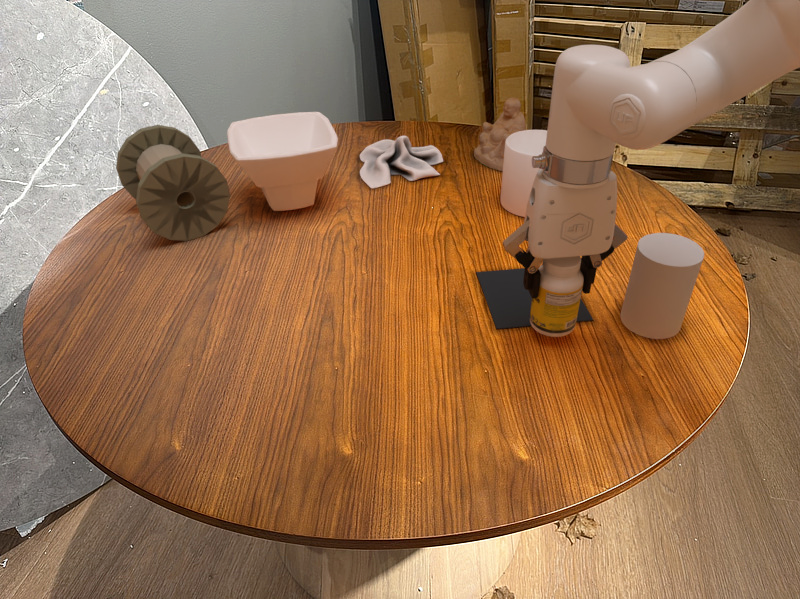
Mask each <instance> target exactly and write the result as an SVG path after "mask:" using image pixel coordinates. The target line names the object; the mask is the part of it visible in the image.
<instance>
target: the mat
mask: <svg viewBox="0 0 800 599" xmlns="http://www.w3.org/2000/svg"><path fill="white" fill-rule="evenodd" d="M524 272H525V267H522V268H521V267H520V268H509V269H498V270H488V271H487V270H486V271H476V272H475V274H476V276H477V279H478V282H479V285H480V287H481V288H480V289H481V290H482V293H483V296H484V299H485V301H486V304H487V307H488V309H489V313H490V315H491V318H492V321H493V323H494V326H495V330H508V329H517V328H519V329H520V328H527V327H528V328H529V327H532V326H531V323H530V312H531V305H532V297H531V295H530V293H529V291H528V290H525V288H524V284H523V280H524ZM593 321H594V318H593V317H592V315H591V313H590V311H589V310H588V308H587V306H586V304H585V303H584V301H583V299H582V298H581V299H580V304H579V310H578V315H577V321H576V323H583V322H593Z"/></svg>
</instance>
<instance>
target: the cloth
mask: <svg viewBox="0 0 800 599" xmlns="http://www.w3.org/2000/svg"><path fill="white" fill-rule="evenodd" d="M443 158H444V157H443V154H442V153H441V151H440V150H439V149H438V148H437V147H436V146H435V145H432V144H429V145H425V146H413V145H412V143H411V140H410V138H409V136H408V135H400V136H398V137H397V138H396V139H395V140H393V139H388V138H386V139H385V138H384V139H381V140H378V141H376V142H374V143H371V144H369V145H367V146H366V147H364V148H363V150H362V151H361V152H360V153H359V159H360V161H361V162H362V163H363V165H362V167H361V168H360V169H359V176H360V178H361V180H362V181H363V182H364V183H365V184H366V186H368V188H370V190H374V189H378V188H382V187H385V186H388V185H390V184H391V183H392V181H391V177H392V176H402V177H403V178H404V179H406V180H407V181H409V182H413V181H417V180H419V179H423V178H431V177H438V176H440V175H441V173H439V171H437V170H436V169H435V167H433V166H435V165H439V164H441V163H443V162H444V159H443Z"/></svg>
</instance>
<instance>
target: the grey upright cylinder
mask: <svg viewBox="0 0 800 599" xmlns="http://www.w3.org/2000/svg"><path fill="white" fill-rule="evenodd" d="M636 245H637V246H636V249H635V254H634V257H633V261H632V266H631V269H630V273H629V278H628V282H627V286H626V290H625V293H624V298H623V303H622V307H621V311H620V321H621V323H622V325H623V326H624V327H625V328H626V329H628V330H629V331H630V332H631V333H634V334H635V335H638V336H641V337H643V338H646V339H651V340H665V339H670V338H673V337H675V336H677V335H678V333H679V332H680V331H681V328H682V325H683V322H684V319H685V316H686V313H687V310H688V307H689V304H690V300H691V298H692V294H693V292H694V289H695V286H696V282H697V280H698V277H699V274H700V270H701V268H702V265H703V262H704V259H705V251H704V249H703V248H702V246H701V245H699V243H697V242H695V241H694V240H693V239H690V238H688V237H686V236H683V235H680V234H676V233H672V232H671V233H669V232H654V233H649V234H646V235H644V236H642V237H641V238H639V240H638V242H637V244H636Z"/></svg>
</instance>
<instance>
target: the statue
mask: <svg viewBox="0 0 800 599" xmlns="http://www.w3.org/2000/svg"><path fill="white" fill-rule="evenodd" d="M521 107H522V103H521V101H520V100H519V99H518V98H516V97H509V98H507V99H506V100H505V101H504V103H503V108H502V110H503V111H502V113H500V115H499V117H498V118H497V119H496V121H495V122H494V123H493V124H492V123H491V122H487V121H484V122H483V123H482V131H481V133H479V138H478V139H479V144H478V146H476V147H475V148H474V150H473V157H474V159H475V160H477V162H479V163H480V164H482V165H483V166H485V167H487V168H490V169H493V170H495V171H499V172H503V162H504V150H505V141H506V139H507V138H508V137H509V136H510V135H511V134H513V133H516V132H519V131H524V130H527V126H526V118H525V115H524V114H523V112H521Z"/></svg>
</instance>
